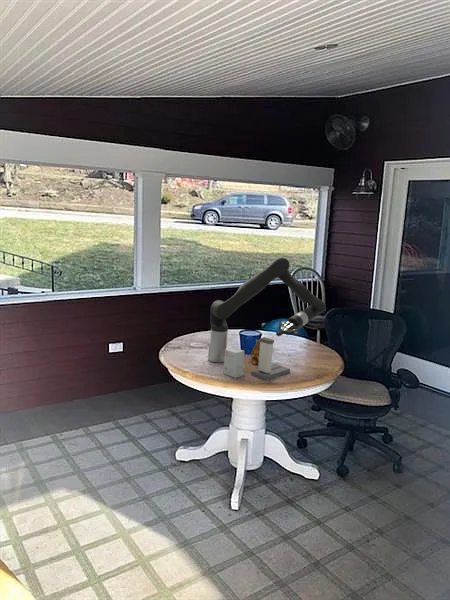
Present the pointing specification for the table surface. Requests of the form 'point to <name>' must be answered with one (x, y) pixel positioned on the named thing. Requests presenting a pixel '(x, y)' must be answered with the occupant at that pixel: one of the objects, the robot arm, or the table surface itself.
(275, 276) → the robot arm
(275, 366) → the fader panel
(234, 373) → the small box
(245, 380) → the table surface
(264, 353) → the grey tall block
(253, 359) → the stuffed squirrel
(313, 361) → the table surface
